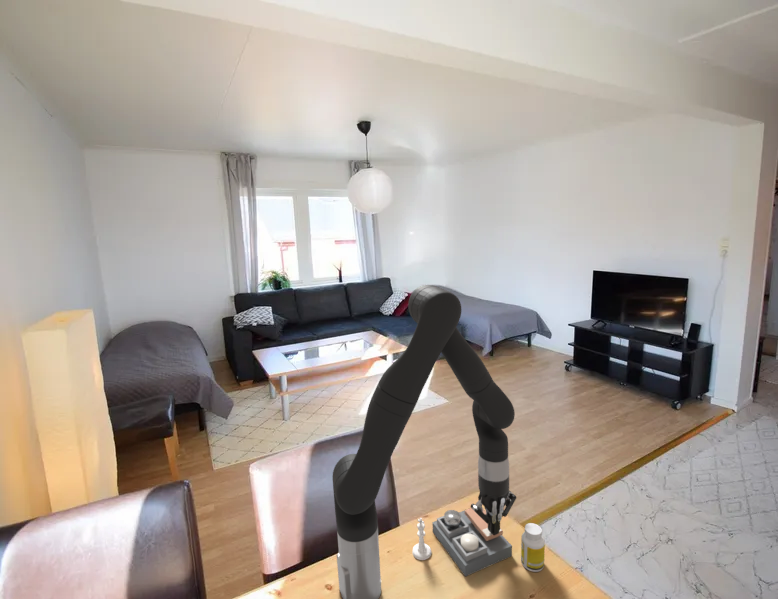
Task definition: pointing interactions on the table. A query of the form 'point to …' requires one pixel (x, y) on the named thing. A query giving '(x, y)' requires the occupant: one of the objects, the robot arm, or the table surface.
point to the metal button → (452, 519)
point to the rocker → (481, 524)
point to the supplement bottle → (532, 548)
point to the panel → (476, 559)
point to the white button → (469, 543)
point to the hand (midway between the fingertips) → (494, 532)
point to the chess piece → (421, 544)
